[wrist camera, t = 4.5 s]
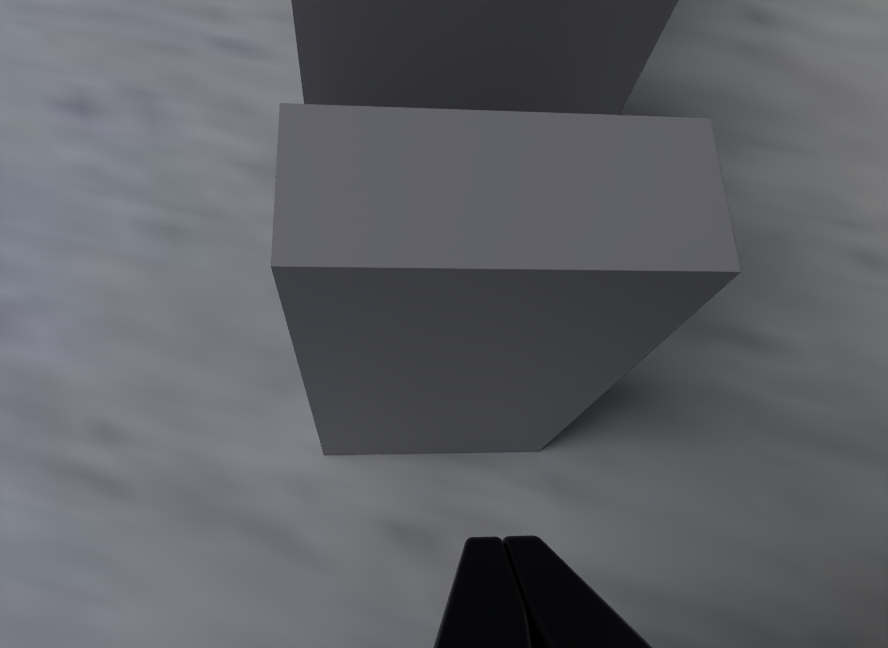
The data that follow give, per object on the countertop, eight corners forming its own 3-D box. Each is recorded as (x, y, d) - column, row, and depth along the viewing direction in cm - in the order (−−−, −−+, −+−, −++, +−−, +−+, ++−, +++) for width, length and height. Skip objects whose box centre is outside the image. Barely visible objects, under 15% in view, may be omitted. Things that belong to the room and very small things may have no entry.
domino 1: (525, 295, 19) (684, -12, 9) (327, 294, 18) (287, -34, 9) (519, 226, 19) (662, -124, 10) (329, 222, 19) (293, -151, 10)
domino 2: (538, 452, 17) (741, 271, 8) (323, 455, 17) (271, 265, 7) (531, 370, 18) (710, 117, 9) (325, 371, 17) (280, 103, 8)
